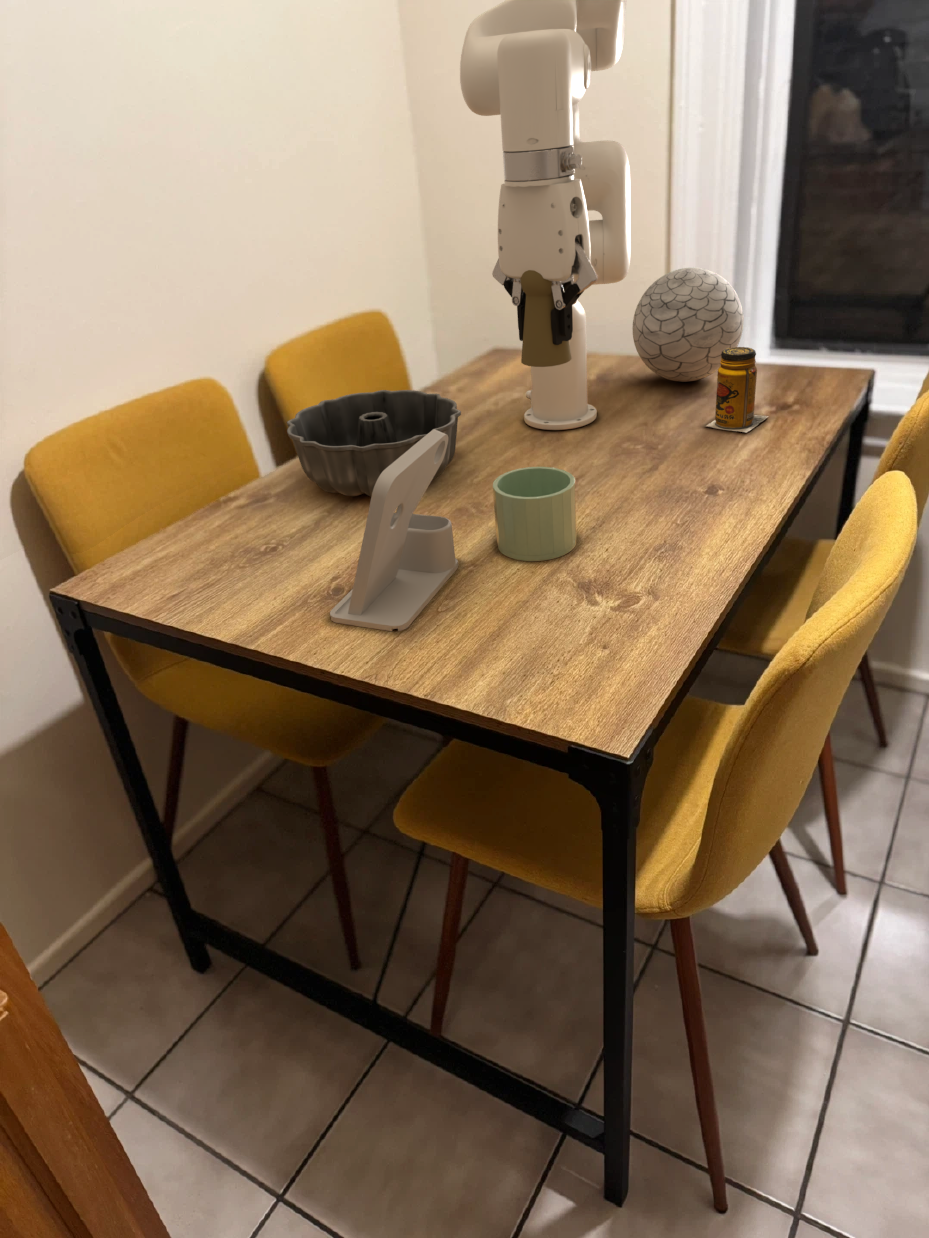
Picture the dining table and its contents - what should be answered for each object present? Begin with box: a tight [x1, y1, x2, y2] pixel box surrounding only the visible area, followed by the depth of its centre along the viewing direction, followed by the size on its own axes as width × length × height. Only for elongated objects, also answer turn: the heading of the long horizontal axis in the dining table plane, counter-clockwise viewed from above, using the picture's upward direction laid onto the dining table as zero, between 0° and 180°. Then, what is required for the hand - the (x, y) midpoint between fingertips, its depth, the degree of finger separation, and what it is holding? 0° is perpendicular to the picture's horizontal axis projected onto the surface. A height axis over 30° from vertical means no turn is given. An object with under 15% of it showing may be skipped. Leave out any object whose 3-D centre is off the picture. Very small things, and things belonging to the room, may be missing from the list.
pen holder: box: [492, 466, 577, 562], centre depth 113 cm, size 10×10×8 cm
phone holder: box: [329, 429, 459, 632], centre depth 103 cm, size 17×10×18 cm, turn 157°
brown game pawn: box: [520, 270, 572, 367], centre depth 103 cm, size 6×6×11 cm
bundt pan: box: [286, 389, 462, 498], centre depth 137 cm, size 26×26×10 cm
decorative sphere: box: [631, 267, 744, 383], centre depth 164 cm, size 20×20×20 cm
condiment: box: [705, 346, 770, 433], centre depth 143 cm, size 7×8×12 cm
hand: (545, 338), depth 105 cm, fingers closed on brown game pawn, 4 cm apart
